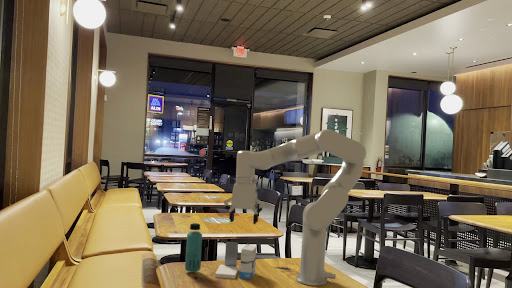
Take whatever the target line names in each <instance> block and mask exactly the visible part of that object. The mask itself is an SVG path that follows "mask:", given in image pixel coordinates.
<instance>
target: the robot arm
mask: <svg viewBox="0 0 512 288" xmlns="http://www.w3.org/2000/svg"><path fill="white" fill-rule="evenodd" d="M324 152H325V153H326V152H327V153H329V154H331V155H333V156H335V157H337V158H340V159H342V164H341V167H340V168H339V169H338V171H337V172H336V173H335V175H334V176H332V178H331V179H330V180H329V182H328V183H327V184H326V185H324V187H322V188H323V189H321V195H320V197H318V199H317V200H316V201H313V202H310V203H308V204H307V205H306V206H304V209H303V212H302V236H301V249H300V251H301V252H300V268H299V270H300V271H299V273H298V274H296V276H295V280H296V281H297V282H298V283H300V284H303V285H307V286H312V287H313V286H314V287H315V286H316V287H318V286H320V287H321V286H324V285H326V284H327V283H328V279H331V280H332V279H333V280H336V277H337V276H336V274H335V273H333V272H331V271H325V270H326V269H325V260H326V259H325V258H326V257H325V256H326V244H327V243H326V242H327V228H328V227H329V226H330V225H331V224H332V223H333V221H334V220H335V219H336V218H337V217H338V216H339V215H340V213H341V212H342V211H343V210H344V208H346V206H347V204H348V201H349V193H350V192H351V190H352V189H353V188H354V187H355V185H356V184H357V183H358V182H359V180H360V178H361V177H362V175H363V171H364V160H365V158H366V157H367V156H366V155H367V149H366V147H365V146H364V144H362V143H361V142H359V141H357V140H355V139H353V138H350V137H349V136H346V135H343V134H342V133H339V132H337V131H336V130H335V131H334V130H333V129H327V128H326V129H323V130H319V131H316V132H313V133H310V134H307V135H304V136H301V137H297V138H294V139H293V140H290V141H287V142H285V143H283V144H280V145H277V146H274V147H272V148H268V149H266V150H261V151H254V150H253V151H252V150H239V151H237V153H236V168H235V170H236V172H235V174H236V175H235V183H234V184H233V188H232V194H231V197H230V198H227V199H225V200H223V204H224V206H225V208H226V210H227V211H228V213H229V218H228V219H229V220H230V223H233V222H235V221H234V220H235V209H238V210H239V209H240V210H241V209H242V210H252V212H253V213H254V214H253V221H252V222H253V223H252V224H253V225H256V224H257V223H258V222H259V214H260V213H261V212H262V211H263V210H264V208H265V206H266V203H265V202H263V201H261V200H260V199H258V190H257V184H255V183H258V179H259V178H256V177H255V172H256V171H255V170H256V169H257V170H261V171H262V170H263V171H264V170H269V169H270V168H271V167H275V166H277V165H281V164H283V163H288V162H292V161H299V160H303V159H306V158H309V157H312V156H316V155H319V154H321V153H324ZM229 202H231V206H230V204H229ZM258 205H259V208H257V207H258Z"/></svg>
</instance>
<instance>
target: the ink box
mask: <svg viewBox="0 0 512 288" xmlns="http://www.w3.org/2000/svg"><path fill="white" fill-rule="evenodd" d="M257 247H258V246H257V245H253V244H245V245H244V246H242V247H241V250H240V266H239V279H245V280H252V278H253V277H254V276H255V274H256V263H257V262H256V261H257Z"/></svg>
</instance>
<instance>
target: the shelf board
mask: <svg viewBox="0 0 512 288" xmlns="http://www.w3.org/2000/svg"><path fill="white" fill-rule="evenodd" d="M239 271H240V266H239V265H237V266H236V267H234V266H225V264H219V266H218V268H217V270H216V272H215V273H214V278H220V279H221V278H222V279H223V278H224V279H231V280H232V279H233V280H235V279H236V277H237V275H238V273H239Z"/></svg>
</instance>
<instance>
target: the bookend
mask: <svg viewBox="0 0 512 288" xmlns="http://www.w3.org/2000/svg"><path fill="white" fill-rule="evenodd" d="M238 245H239V242H236V241H235V242H233V241H232V242H231V241H226V242H225V255H224V256H225V257H224V265H225V266H234V267H236V266H238V265H237V263H238V247H239V246H238Z"/></svg>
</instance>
